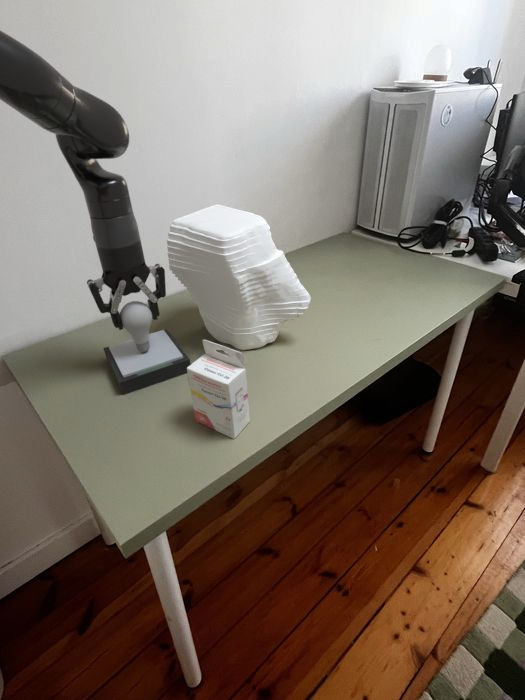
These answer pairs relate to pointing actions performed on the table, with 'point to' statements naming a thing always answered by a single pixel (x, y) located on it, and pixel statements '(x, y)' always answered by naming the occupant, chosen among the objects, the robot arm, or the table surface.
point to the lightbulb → (137, 323)
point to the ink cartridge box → (220, 390)
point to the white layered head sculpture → (235, 275)
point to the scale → (146, 362)
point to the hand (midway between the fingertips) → (137, 322)
